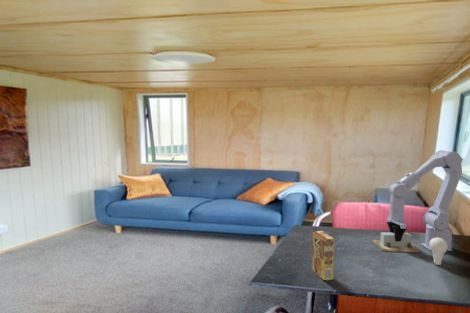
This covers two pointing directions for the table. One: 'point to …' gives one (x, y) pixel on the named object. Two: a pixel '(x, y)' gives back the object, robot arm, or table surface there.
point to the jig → (397, 247)
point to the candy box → (323, 255)
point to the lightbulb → (438, 249)
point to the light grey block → (390, 238)
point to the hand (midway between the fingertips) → (395, 239)
